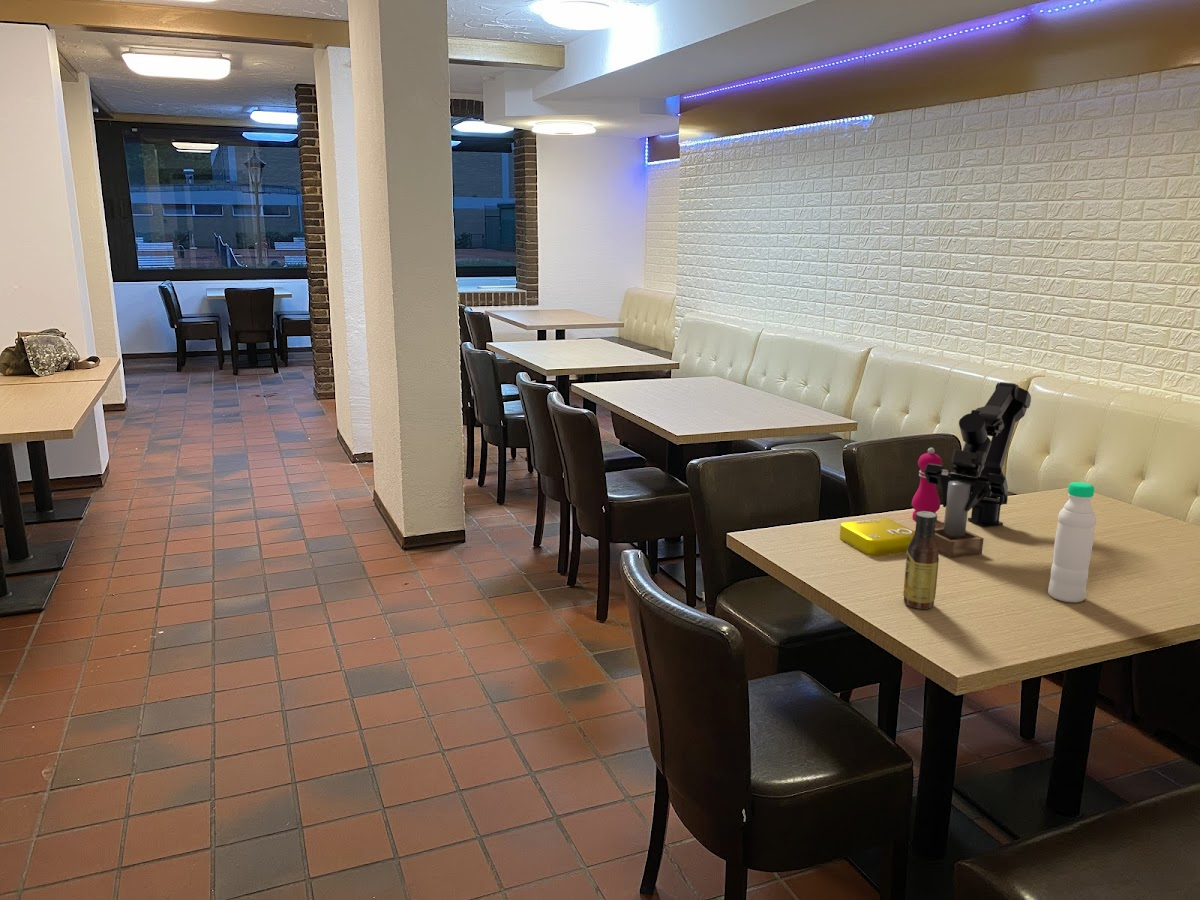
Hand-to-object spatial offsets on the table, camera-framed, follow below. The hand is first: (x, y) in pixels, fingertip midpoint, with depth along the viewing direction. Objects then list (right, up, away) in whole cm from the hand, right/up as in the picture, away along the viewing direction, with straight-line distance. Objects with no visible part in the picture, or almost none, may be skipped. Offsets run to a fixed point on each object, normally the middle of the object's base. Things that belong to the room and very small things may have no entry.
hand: (955, 508), depth 216 cm
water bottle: (+14, -17, -25) cm, 33 cm away
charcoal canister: (+1, -6, +3) cm, 7 cm away
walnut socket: (+1, -10, +4) cm, 11 cm away
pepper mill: (+2, -5, +27) cm, 27 cm away
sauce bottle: (-20, -18, -30) cm, 40 cm away
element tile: (-16, -10, +7) cm, 20 cm away
